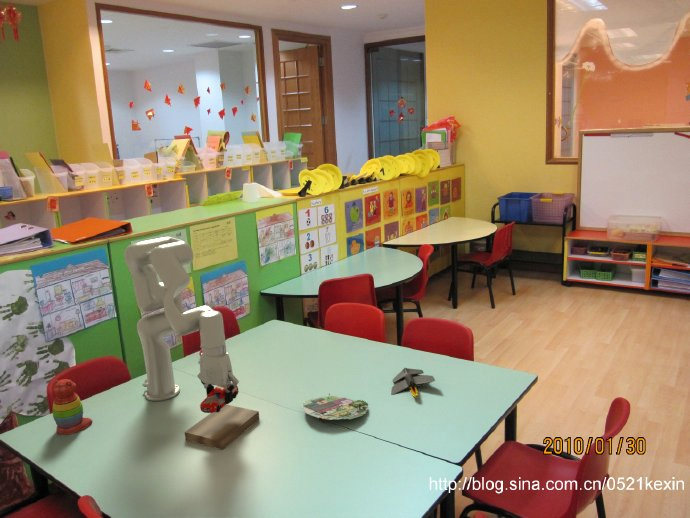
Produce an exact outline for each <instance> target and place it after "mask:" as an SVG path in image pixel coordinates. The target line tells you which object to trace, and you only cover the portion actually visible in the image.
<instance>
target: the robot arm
mask: <svg viewBox="0 0 690 518" xmlns="http://www.w3.org/2000/svg"><path fill="white" fill-rule="evenodd" d="M123 255H124V261H125V264H126V267H127V269H128V270H129V272H130V274H131V278H132V283H133V289H134V293H135V300H136V304H137V307H138V309H139V310H140V311H141V312H143V313H148V312H153V311H157V310H160V309H163V310H161V311H157V312H154V313H149V314H147V315H144V316H143V317H141V318H140V319H139V320H138V321H137V324H136V330H137V334H138V337H139V340H140V343H141V348H142V353H143V359H144V366H145V374H146V378H145V379H144V381H143V383H142V387H144V388H146V391H145V394H144V397H145V399H147V400H148V401H153V402H154V401H155V402H160V401H165V400H170V399H171V398H174V397H176V396H177V395H178V394H179V393H180V392H181V391H180V389H181V388H180V386H179V385H178V384H176V383H175V378H174V377H175V376H174V375H175V374H174V368H173V363H172V362H173V361H172V355H171V348H170V346H169V344H168V343H166V341H164V340H163V338H166V337H168V336H171V335H174V334H177V335H179V336H187V335H190V334H193V333H196V332H198V331H199V334H200V335H199V336H200V346H199V348H200V349H202V353H201V357H200V356H199V357H200V358H199V361H200V364H199V371H200V372H199V373H198V374H197V378H198V379H199V381H200V382H201V384H202V385H203V388H204V389H205V391H206V392H205V393H206V395H207V394H209V393H210V392H211V391H212V390H213V389H214V388H215V386H216V387H217V386H223V387H224V389H225V391H226V392H225V401H226V405H230V404H231V403H232V402H233V401H234V399H233V392H232V390H233V389H234V388H235V387H236V385H237V386H238V384H239V382H240V381H239V379H237V377H236V376H235V375H234V374H233V367H232V363H231V358H230V355H229V353H228V352H227V344H226V335H225V327H224V318H223V314H222V313H221V312H220V311H219V310H215V309H213V307H211V306H209V305H200V306H196V307H193V308H190V309H187V310H184V306H183V299H182V294H181V293H182V292H183V291H185V290H186V289H187V287H188V286H189V285H190V283H191V277H190V275H189V274H188V272H187V271H186V269H185V267H184V266H186V265H190V264H191V263H192V262H193V260H194V252H193V249H192V247H191V246H190V244H189V243H188V242H187V241H185V240H182V239H179V238H175V237H172V236H163V237H159V238H153V239H152V238H151V239H148V240H147V239H146V240H142V241H138V242H133V243H131V244H129V245H128V246H127V247H126V248H125V249H124V253H123ZM158 277H159V279H160V282H159V279H158ZM227 384H228V386H229V388H228V386H227Z"/></svg>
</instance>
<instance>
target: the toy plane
mask: <svg viewBox="0 0 690 518" xmlns="http://www.w3.org/2000/svg"><path fill="white" fill-rule="evenodd" d="M424 373H425V371H424V370H422V369H418V368H407V367H403V369H402V370H401V371H400V372H398V374H396V375H395V376H394V377H393V378H392V383H395V384H394V385H392V387H391V390H390V391H391V393H390V395H391V396H393V395H396V394H399V393H402V392H405V391H408V390H409V392H410V393H411V396H413V398H418V397H419V391H418V388H417V387H420V386H423V385H426V384H429V383H430V384H431V383H433V382H435V381H436V379H435V377H434V376H433V375H429V374H428V375H427V374H424Z"/></svg>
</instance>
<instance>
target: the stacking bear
mask: <svg viewBox="0 0 690 518" xmlns="http://www.w3.org/2000/svg"><path fill="white" fill-rule="evenodd" d="M53 384H54V385H53V393H54V395H55V398H54V400H53V404H52V417H53V420H54V421H55V424H56V433H57V434H59V435H63V436H64V435H70V434H71V435H72V434H74V433H78V432H80V431H82V430H85V429H86V428H87V427H90V425H92V424H93V420H92V418H89V417H83V415H84V406H83V402H82V401H81V398H80V396H79V395H78V393H76V389H77V384H76V383H75V382H74V381H72V380H71V379H67V378H65V379H64V378H63V379H60V380H58V379H56V380H54V381H53Z"/></svg>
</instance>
